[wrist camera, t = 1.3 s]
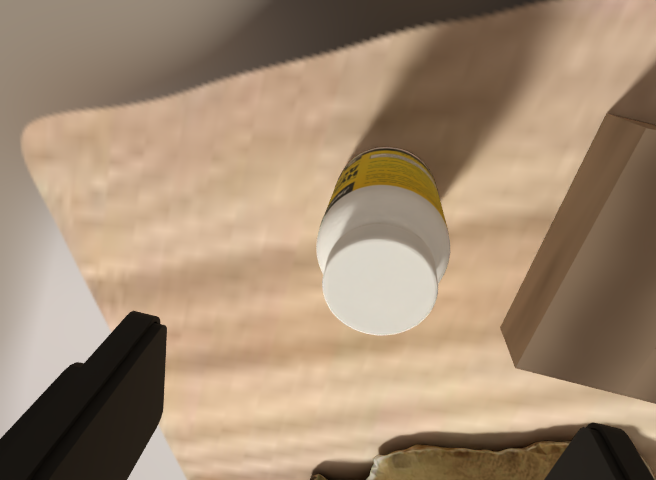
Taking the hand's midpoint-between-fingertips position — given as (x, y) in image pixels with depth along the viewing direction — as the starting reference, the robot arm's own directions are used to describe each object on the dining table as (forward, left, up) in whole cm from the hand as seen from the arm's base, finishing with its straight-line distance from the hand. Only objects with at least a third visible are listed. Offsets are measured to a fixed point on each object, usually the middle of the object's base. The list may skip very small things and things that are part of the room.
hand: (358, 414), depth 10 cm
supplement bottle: (0, 0, -16) cm, 16 cm away
